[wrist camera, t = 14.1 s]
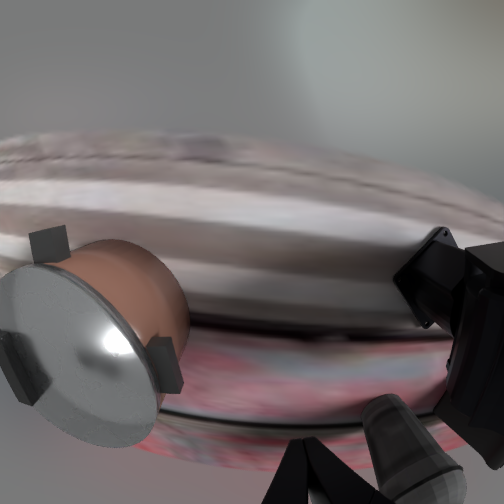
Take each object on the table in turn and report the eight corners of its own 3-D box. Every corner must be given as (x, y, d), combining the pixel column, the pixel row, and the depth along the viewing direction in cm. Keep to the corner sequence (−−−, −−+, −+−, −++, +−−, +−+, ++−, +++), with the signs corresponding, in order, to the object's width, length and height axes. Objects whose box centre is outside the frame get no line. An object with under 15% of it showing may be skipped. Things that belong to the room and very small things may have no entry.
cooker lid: (125, 251, 11) (102, 263, 9) (185, 447, 14) (179, 470, 12) (-19, 271, 12) (-39, 279, 10) (44, 420, 14) (32, 434, 12)
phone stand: (431, 410, 23) (477, 479, 12) (458, 368, 22) (518, 433, 10) (472, 406, 24) (515, 460, 12) (496, 369, 23) (547, 419, 11)
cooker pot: (183, 202, 19) (138, 211, 11) (217, 389, 22) (204, 460, 14) (46, 227, 19) (-20, 246, 11) (93, 383, 23) (56, 434, 15)
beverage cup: (369, 379, 22) (460, 566, 2) (424, 384, 22) (518, 523, 3) (335, 432, 24) (380, 598, 4) (390, 433, 24) (449, 568, 4)
